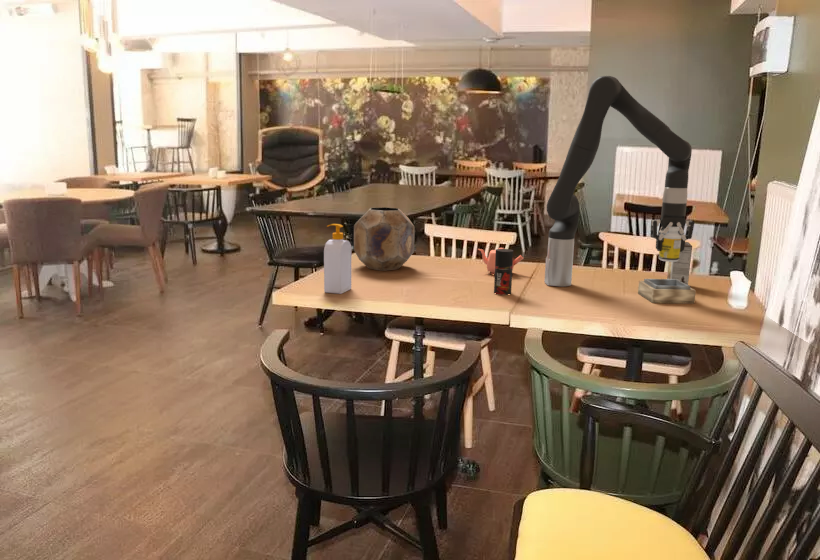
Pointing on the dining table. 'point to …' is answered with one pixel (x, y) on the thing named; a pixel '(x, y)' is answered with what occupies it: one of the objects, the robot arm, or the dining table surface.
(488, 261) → the teapot
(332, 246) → the soap bottle
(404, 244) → the planter
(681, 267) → the coffee box
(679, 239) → the pill bottle
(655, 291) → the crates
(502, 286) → the deodorant
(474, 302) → the dining table surface
